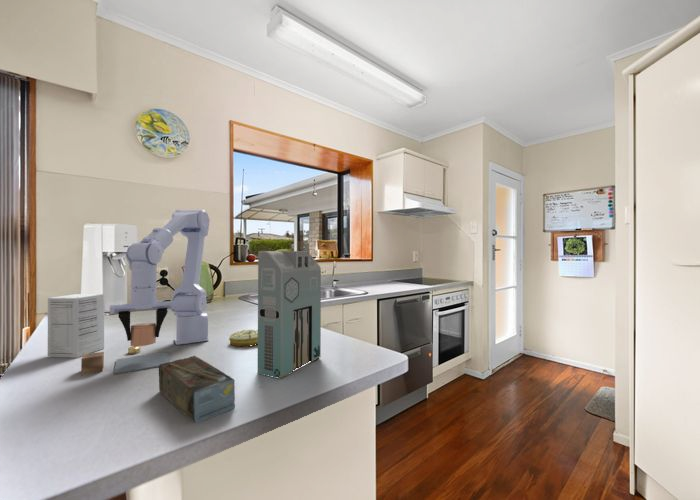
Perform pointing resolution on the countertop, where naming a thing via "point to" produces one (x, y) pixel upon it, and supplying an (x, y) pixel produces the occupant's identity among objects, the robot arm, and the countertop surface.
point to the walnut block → (92, 363)
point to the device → (288, 311)
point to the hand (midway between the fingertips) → (143, 338)
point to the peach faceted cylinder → (143, 334)
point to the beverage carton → (196, 388)
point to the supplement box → (75, 325)
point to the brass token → (134, 350)
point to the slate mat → (140, 362)
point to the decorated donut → (244, 338)
